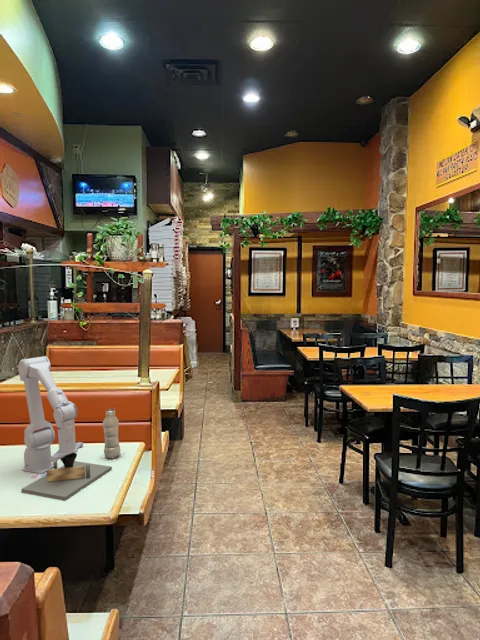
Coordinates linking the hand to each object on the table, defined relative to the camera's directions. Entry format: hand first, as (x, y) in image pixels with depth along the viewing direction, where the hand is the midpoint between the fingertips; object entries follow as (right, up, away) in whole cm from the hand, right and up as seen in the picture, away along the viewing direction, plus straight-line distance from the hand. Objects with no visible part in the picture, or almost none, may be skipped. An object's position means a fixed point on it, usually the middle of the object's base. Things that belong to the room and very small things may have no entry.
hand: (68, 473), depth 154 cm
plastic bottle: (+9, -1, +21) cm, 23 cm away
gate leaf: (0, -1, -2) cm, 2 cm away
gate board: (0, -3, 0) cm, 3 cm away
